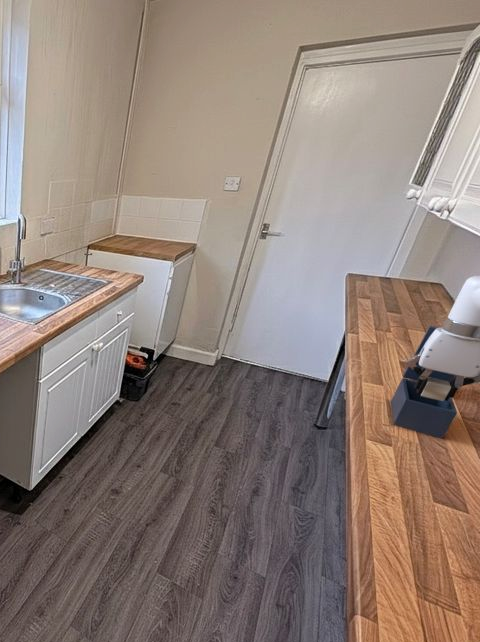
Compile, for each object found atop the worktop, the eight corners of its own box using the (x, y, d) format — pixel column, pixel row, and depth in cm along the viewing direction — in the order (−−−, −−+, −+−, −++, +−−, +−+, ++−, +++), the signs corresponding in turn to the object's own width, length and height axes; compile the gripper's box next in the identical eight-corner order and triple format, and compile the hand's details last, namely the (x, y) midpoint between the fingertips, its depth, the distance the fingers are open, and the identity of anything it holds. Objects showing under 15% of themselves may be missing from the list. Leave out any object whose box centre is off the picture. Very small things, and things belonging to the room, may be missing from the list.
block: (441, 395, 105) (448, 381, 103) (443, 401, 102) (451, 387, 101) (419, 390, 107) (426, 376, 106) (420, 395, 105) (427, 382, 103)
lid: (481, 336, 102) (481, 334, 102) (429, 327, 107) (429, 325, 108) (449, 388, 110) (449, 386, 111) (402, 377, 115) (402, 375, 116)
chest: (442, 438, 103) (457, 412, 100) (393, 424, 108) (405, 399, 105) (435, 412, 114) (448, 388, 110) (390, 401, 119) (402, 378, 116)
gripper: (517, 333, 95) (477, 401, 102) (415, 316, 105) (386, 379, 112) (526, 343, 90) (483, 413, 97) (418, 324, 100) (387, 389, 107)
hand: (431, 394), depth 105 cm, fingers closed on block, 4 cm apart
